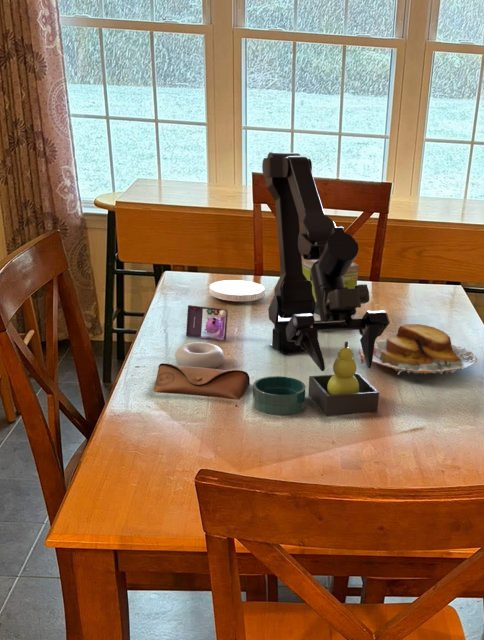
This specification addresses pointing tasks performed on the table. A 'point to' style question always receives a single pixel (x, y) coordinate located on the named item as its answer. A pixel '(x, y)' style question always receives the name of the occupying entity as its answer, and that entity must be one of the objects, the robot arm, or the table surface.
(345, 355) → the pear
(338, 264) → the robot arm
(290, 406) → the bowl
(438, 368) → the food on plate
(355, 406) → the bin
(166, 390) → the sunglasses case
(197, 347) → the donut
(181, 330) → the table surface
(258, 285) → the plastic lid
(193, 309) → the purple toy box
